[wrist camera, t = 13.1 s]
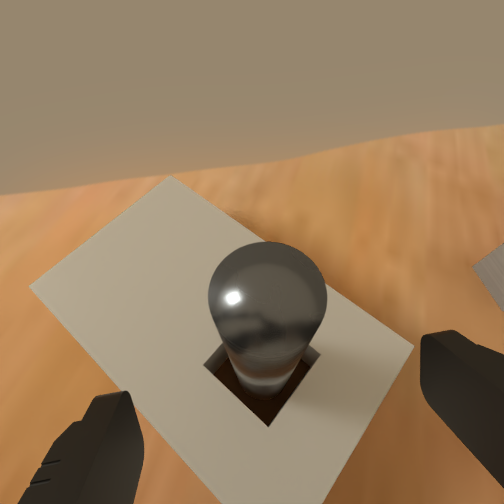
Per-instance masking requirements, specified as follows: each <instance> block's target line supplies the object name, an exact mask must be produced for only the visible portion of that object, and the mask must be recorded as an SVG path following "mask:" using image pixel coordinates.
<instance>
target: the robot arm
mask: <svg viewBox="0 0 504 504" xmlns="http://www.w3.org/2000/svg"><path fill="white" fill-rule="evenodd" d="M420 385H421V389H422V392H423V395H424V397H425V399H426V401H427V403H428V404H429V405H430V407H431V408H432V409H433V410H434V411H435V412H436V413H437V415H438V416H439V417H440V418H441V419H442V420H443V421H444V422H445V423H446V425H447V426H448V427H449V428H450V429H451V430H452V431H453V432H454V433H455V435H456V436H457V437H458V438H459V439H460V440H461V441H462V442H463V444H464V445H465V446H466V447H467V448H468V449H469V450H470V451H471V452H472V454H473V455H474V456H475V457H476V458H477V459H478V460H479V461H480V462H481V464H482V465H483V466H484V467H485V468H486V469H487V470H488V471H489V473H490V474H491V475H492V476H493V477H494V478H495V479H496V480H497V481H498V483H499V484H500V485H501V486H502V487H503V488H504V355H503V354H501V353H499V352H496V351H494V350H491V349H489V348H486V347H484V346H481V345H479V344H478V345H476V344H475V343H473V342H472V341H470V340H469V339H467V338H466V337H464V336H463V335H461V334H460V333H458V332H457V331H455V330H447V331H442V332H436V333H431V334H426V335H423V337H422V338H421V348H420ZM143 460H144V441H143V436H142V432H141V429H140V425H139V422H138V418H137V415H136V412H135V408H134V405H133V401H132V398H131V395H130V393H129V392H128V391H120V392H115V393H110V394H104V395H99V396H96V397H95V398H94V399H93V400H92V402H91V404H90V406H89V408H88V409H87V411H86V413H85V415H84V417H83V419H82V421H77V422H73V423H72V424H71V425H70V426H69V427H68V428H67V429H66V430H65V431H64V432H63V433H62V434H61V435H60V436H59V437H58V438H57V439H56V440H55V441H54V443H53V445H52V446H51V448H50V450H49V451H48V453H47V455H46V456H45V458H44V460H43V462H42V463H41V464H42V466H41V468H38V470H37V472H36V473H35V475H34V477H33V479H32V480H31V482H30V487H29V488H27V489H26V490H25V492H24V494H23V495H22V497H21V499H20V501H19V502H18V504H133V503H134V499H135V495H136V490H137V486H138V482H139V478H140V474H141V470H142V466H143Z"/></svg>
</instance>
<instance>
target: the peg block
mask: <svg viewBox="0 0 504 504" xmlns="http://www.w3.org/2000/svg"><path fill="white" fill-rule="evenodd" d="M257 242H266V241H264V240H263V239H261V238H260V237H258V236H257V235H256V234H254V233H253V232H251V231H250V230H248V229H247V228H246V227H244V226H243V225H241V224H240V223H238V222H237V221H236V220H234V219H233V218H231V217H230V216H228V215H227V214H226V213H224V212H223V211H221V210H220V209H218V208H217V207H216V206H214V205H213V204H211V203H210V202H209V201H207V200H206V199H204V198H203V197H201V196H200V195H199V194H197V193H196V192H194V191H193V190H191V189H190V188H189V187H187V186H186V185H184V184H183V183H181V182H180V181H179V180H177V179H176V178H174V177H173V176H171V175H170V176H168V177H167V178H166V179H165V180H163V181H162V182H161V183H159V184H158V185H157V186H156V187H154V188H153V189H152V190H150V191H149V192H148V193H147V194H145V195H144V196H143V197H142V198H140V199H139V200H138V201H136V202H135V203H134V204H133V205H131V206H130V207H129V208H128V209H126V210H125V211H124V212H122V213H121V214H120V215H119V216H117V217H116V218H115V219H114V220H112V221H111V222H110V223H108V224H107V225H106V226H105V227H103V228H102V229H101V230H100V231H98V232H97V233H96V234H94V235H93V236H92V237H91V238H89V239H88V240H87V241H85V242H84V243H83V244H82V245H80V246H79V247H78V248H77V249H75V250H74V251H73V252H71V253H70V254H69V255H68V256H66V257H65V258H64V259H63V260H61V261H60V262H59V263H57V264H56V265H55V266H54V267H52V268H51V269H50V270H49V271H47V272H46V273H45V274H43V275H42V276H41V277H40V278H38V279H37V280H36V281H35V282H33V283H32V284H31V285H29V287H30V289H31V290H32V291H33V292H34V293H35V294H36V295H37V296H38V298H39V299H40V300H41V301H42V302H43V303H44V304H45V305H46V307H47V308H48V309H49V310H50V311H51V312H52V313H53V314H54V316H55V317H56V318H57V319H58V320H59V321H60V322H61V323H62V325H63V326H64V327H65V328H66V329H67V330H68V331H69V332H70V334H71V335H72V336H73V337H74V338H75V339H76V340H77V341H78V343H79V344H80V345H81V346H82V347H83V348H84V349H85V350H86V352H87V353H88V354H89V355H90V356H91V357H92V358H93V359H94V361H95V362H96V363H97V364H98V365H99V366H100V367H101V368H102V370H103V371H104V372H105V373H106V374H107V375H108V376H109V377H110V379H111V380H112V381H113V382H114V383H115V384H116V385H117V386H118V388H119V389H120V390H121V391H128V392H129V393H130V395H131V398H132V401H133V404H134V406H135V407H136V408H137V409H138V410H139V411H140V412H141V413H142V414H143V416H144V417H145V418H146V419H147V420H148V421H149V422H150V423H151V425H152V426H153V427H154V428H155V429H156V430H157V431H158V432H159V434H160V435H161V436H162V437H163V438H164V439H165V440H166V441H167V443H168V444H169V445H170V446H171V447H172V448H173V449H174V450H175V452H176V453H177V454H178V455H179V456H180V457H181V458H182V459H183V461H184V462H185V463H186V464H187V465H188V466H189V467H190V468H191V470H192V471H193V472H194V473H195V474H196V475H197V476H198V477H199V479H200V480H201V481H202V482H203V483H204V484H205V485H206V486H207V488H208V489H209V490H210V491H211V492H212V493H213V494H214V495H215V497H216V498H217V499H218V500H219V501H220V502H221V503H222V504H322V503H323V501H324V500H325V498H326V496H327V494H328V493H329V491H330V489H331V488H332V486H333V484H334V483H335V481H336V479H337V477H338V476H339V474H340V472H341V471H342V469H343V467H344V466H345V464H346V462H347V460H348V459H349V457H350V455H351V454H352V452H353V450H354V449H355V447H356V445H357V443H358V442H359V440H360V438H361V437H362V435H363V433H364V432H365V430H366V428H367V426H368V425H369V423H370V421H371V420H372V418H373V416H374V415H375V413H376V411H377V409H378V408H379V406H380V404H381V403H382V401H383V399H384V398H385V396H386V394H387V392H388V391H389V389H390V387H391V386H392V384H393V382H394V380H395V379H396V377H397V375H398V374H399V372H400V370H401V369H402V367H403V365H404V363H405V362H406V360H407V358H408V357H409V355H410V353H411V352H412V350H413V348H414V345H412V344H411V343H410V342H408V341H407V340H405V339H404V338H402V337H401V336H400V335H398V334H397V333H395V332H394V331H392V330H391V329H390V328H388V327H387V326H385V325H384V324H382V323H381V322H380V321H378V320H377V319H375V318H374V317H372V316H371V315H370V314H368V313H367V312H365V311H364V310H363V309H361V308H360V307H358V306H357V305H355V304H354V303H353V302H351V301H350V300H348V299H347V298H345V297H344V296H343V295H341V294H340V293H338V292H337V291H335V290H334V289H333V288H331V287H330V286H328V285H327V284H325V285H326V289H327V308H326V312H325V316H324V318H323V320H322V323H321V325H320V326H319V328H318V330H317V332H316V333H315V335H314V337H313V338H312V340H311V342H310V344H309V345H308V347H307V349H306V350H305V352H304V354H303V356H302V357H301V359H302V360H303V361H304V362H305V363H306V364H308V365H309V366H310V369H309V370H308V371H307V373H306V374H305V376H304V377H303V378H302V380H301V381H300V383H299V384H298V385H297V387H296V388H295V389H294V391H293V392H292V394H291V395H290V396H289V398H288V399H287V401H286V402H285V403H284V405H283V406H282V408H281V409H280V410H279V412H278V413H277V414H276V416H275V417H274V419H273V420H272V421H271V423H270V424H269V426H268V427H267V426H266V425H265V424H264V423H263V422H262V421H261V420H260V419H259V418H258V417H257V416H256V415H255V414H254V413H253V412H252V411H251V410H250V409H249V408H247V407H246V406H245V405H244V404H243V403H242V402H241V401H240V400H239V399H238V398H237V397H236V396H235V395H234V394H233V393H232V392H231V391H230V390H229V389H227V388H226V387H225V386H224V385H223V384H222V383H221V382H220V381H219V380H218V379H217V378H216V377H215V376H214V373H215V372H216V371H217V370H218V369H219V367H220V366H221V365H222V364H223V363H224V362H225V360H226V359H227V358H228V357H229V356H228V354H227V352H226V349H225V347H224V344H223V342H222V340H221V337H220V335H219V333H218V330H217V328H216V326H215V323H214V321H213V318H212V316H211V313H210V309H209V305H208V289H209V284H210V281H211V278H212V275H213V273H214V271H215V270H216V268H217V267H218V265H219V264H220V263H221V261H222V260H223V259H224V258H225V257H227V256H228V255H229V254H230V253H232V252H233V251H235V250H236V249H238V248H240V247H243V246H245V245H248V244H252V243H257Z"/></svg>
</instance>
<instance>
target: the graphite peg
mask: <svg viewBox="0 0 504 504" xmlns="http://www.w3.org/2000/svg"><path fill="white" fill-rule="evenodd" d="M208 305H209V309H210V313H211V316H212V318H213V321H214V323H215V326H216V328H217V330H218V333H219V335H220V337H221V340H222V342H223V344H224V347H225V349H226V352H227V354H228V356H229V359H230V361H231V363H232V366H233V368H234V370H235V373H236V375H237V378H238V380H239V382H240V385H241V387H242V388H243V390H244V391H245V392H246V393H247V394H248V395H249V396H251V397H252V398H255V399H258V400H269V399H272V398H274V397H275V396H277V395H278V394H279V393H280V392H281V391H282V390H283V388H284V386H285V385H286V383H287V381H288V380H289V378H290V376H291V374H292V373H293V371H294V369H295V368H296V366H297V364H298V362H299V361H300V359H301V357H302V356H303V354H304V352H305V350H306V349H307V347H308V345H309V344H310V342H311V340H312V338H313V337H314V335H315V333H316V332H317V330H318V328H319V326H320V325H321V323H322V320H323V318H324V316H325V312H326V308H327V289H326V285H325V281H324V279H323V276H322V274H321V272H320V271H319V269H318V267H317V266H316V265H315V264H314V262H313V261H312V260H311V259H310V258H309V257H307V256H306V255H305V254H304V253H302V252H301V251H299V250H297V249H295V248H293V247H291V246H288V245H285V244H282V243H277V242H257V243H252V244H248V245H245V246H243V247H240V248H238V249H236V250H235V251H233V252H232V253H230V254H229V255H228V256H227V257H225V258H224V259H223V260H222V261H221V263H220V264H219V265H218V267H217V268H216V270H215V271H214V273H213V275H212V278H211V281H210V284H209V289H208Z"/></svg>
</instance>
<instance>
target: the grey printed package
mask: <svg viewBox="0 0 504 504" xmlns="http://www.w3.org/2000/svg"><path fill="white" fill-rule="evenodd" d="M473 269H474V270H475V272H476V273H477V275H478V276H479V278H480V279H481V281H482V282H483V284H484V285H485V286H486V288H487V289H488V291H489V292H490V294H491V295H492V297H493V298H494V300H495V301H496V303H497V304H498V305H499V307H500V308H501V310H502V311H504V243H503V244H502V245H500V246H499V247H498V248H496V249H495V250H494V251H492V252H491V253H490V254H488V255H487V256H486V257H484V258H483V259H482V260H481V261H479V262H478V263H477V264H475V265H474V266H473Z"/></svg>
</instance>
